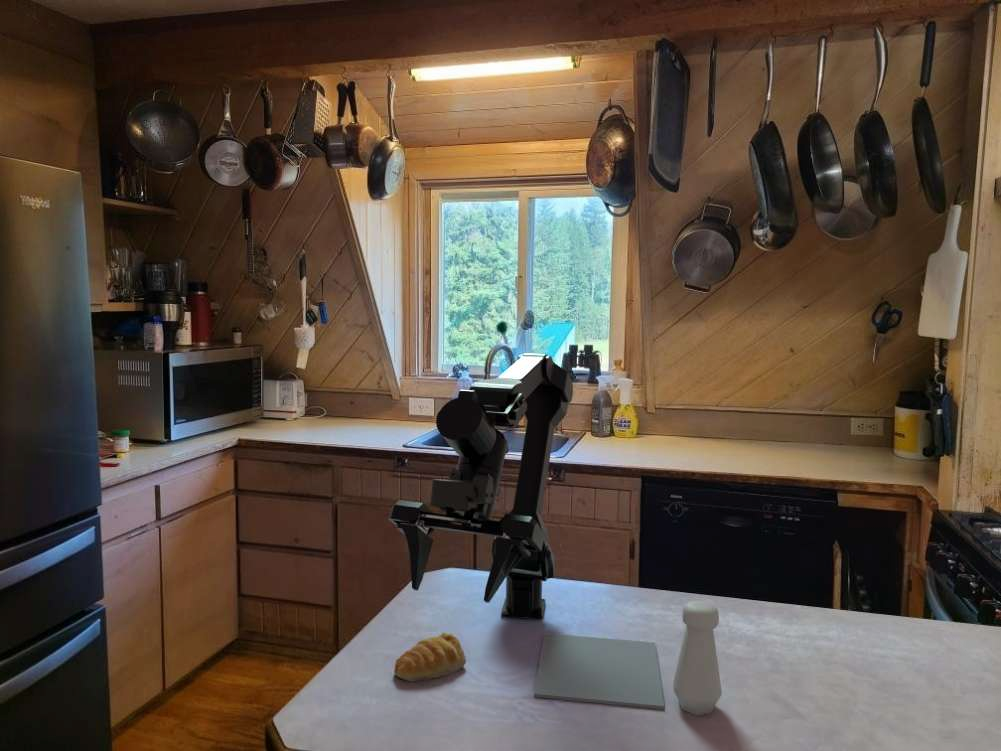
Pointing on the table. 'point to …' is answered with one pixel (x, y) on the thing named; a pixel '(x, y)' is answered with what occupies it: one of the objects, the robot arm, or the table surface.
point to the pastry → (431, 658)
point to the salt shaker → (698, 660)
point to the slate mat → (599, 671)
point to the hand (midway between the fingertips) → (449, 595)
